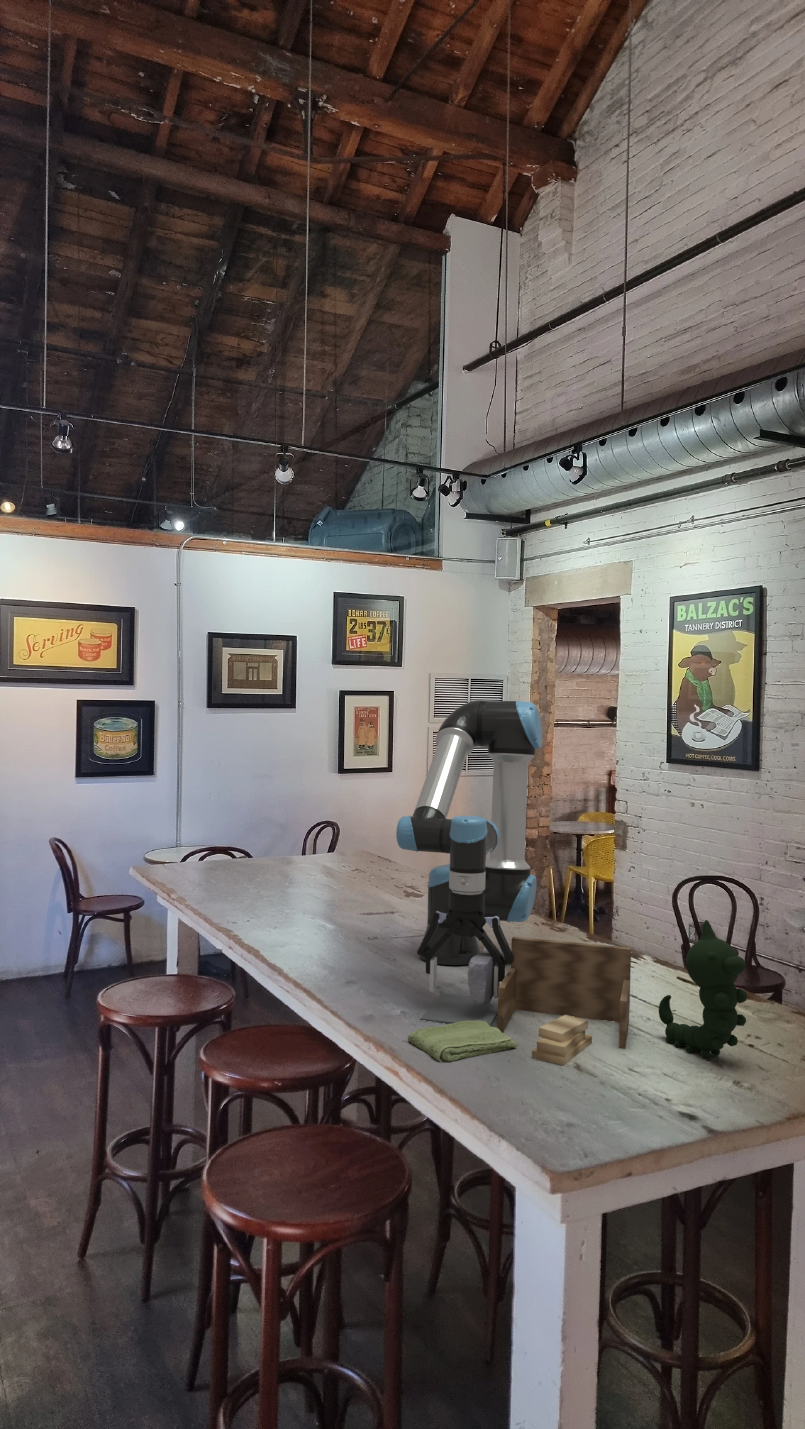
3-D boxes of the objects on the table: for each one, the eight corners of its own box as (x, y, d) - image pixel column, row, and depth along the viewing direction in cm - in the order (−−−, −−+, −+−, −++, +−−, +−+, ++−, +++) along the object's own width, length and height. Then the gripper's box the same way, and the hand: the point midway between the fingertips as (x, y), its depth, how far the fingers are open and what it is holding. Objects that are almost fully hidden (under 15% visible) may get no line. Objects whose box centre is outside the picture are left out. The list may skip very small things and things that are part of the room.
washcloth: (520, 1051, 174) (521, 1034, 174) (440, 1068, 165) (441, 1049, 165) (480, 1030, 185) (480, 1014, 185) (403, 1044, 176) (403, 1027, 176)
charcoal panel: (420, 1022, 187) (420, 1018, 187) (441, 996, 205) (441, 992, 205) (488, 1030, 183) (488, 1026, 183) (504, 1003, 201) (504, 999, 201)
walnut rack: (497, 1033, 182) (499, 955, 182) (510, 1008, 198) (512, 936, 198) (625, 1048, 175) (627, 968, 175) (629, 1021, 191) (631, 947, 191)
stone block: (492, 1009, 186) (484, 959, 187) (470, 1010, 188) (462, 960, 189) (510, 991, 197) (502, 944, 198) (489, 992, 199) (481, 945, 200)
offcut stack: (562, 1038, 181) (563, 1011, 181) (592, 1045, 178) (593, 1018, 178) (531, 1060, 169) (532, 1031, 169) (563, 1068, 166) (563, 1038, 166)
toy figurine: (721, 1073, 165) (725, 932, 164) (642, 1039, 181) (645, 910, 181) (756, 1064, 169) (760, 927, 169) (676, 1031, 186) (680, 906, 186)
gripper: (404, 889, 194) (402, 991, 194) (523, 899, 187) (521, 1005, 187) (414, 883, 201) (411, 981, 201) (529, 892, 194) (526, 994, 194)
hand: (464, 993), depth 194 cm, fingers open, 13 cm apart
